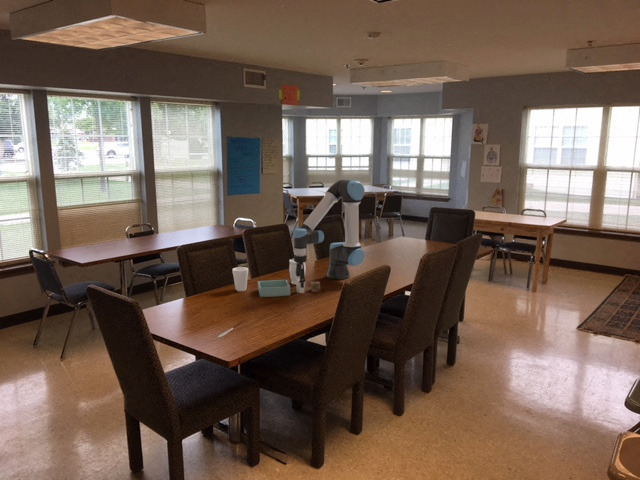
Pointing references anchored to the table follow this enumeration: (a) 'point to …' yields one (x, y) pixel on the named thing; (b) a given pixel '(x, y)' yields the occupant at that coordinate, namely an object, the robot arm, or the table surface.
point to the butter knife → (225, 333)
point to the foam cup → (240, 278)
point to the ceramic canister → (299, 286)
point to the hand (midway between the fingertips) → (300, 289)
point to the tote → (273, 288)
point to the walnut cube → (315, 286)
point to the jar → (294, 270)
